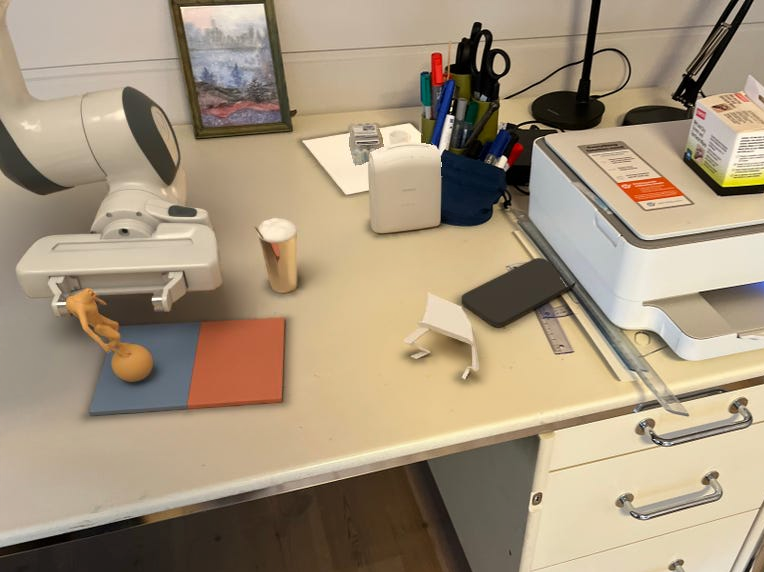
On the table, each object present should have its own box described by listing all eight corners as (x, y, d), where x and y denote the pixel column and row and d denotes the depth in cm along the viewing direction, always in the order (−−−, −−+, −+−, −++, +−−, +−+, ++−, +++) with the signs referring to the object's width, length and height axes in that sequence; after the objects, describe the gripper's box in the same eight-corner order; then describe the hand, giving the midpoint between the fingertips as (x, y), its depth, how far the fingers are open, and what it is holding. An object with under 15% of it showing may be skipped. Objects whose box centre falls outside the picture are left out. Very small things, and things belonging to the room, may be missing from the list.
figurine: (161, 397, 78) (133, 305, 70) (98, 412, 76) (62, 318, 68) (152, 349, 84) (125, 258, 76) (93, 361, 82) (59, 269, 74)
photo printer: (373, 237, 105) (371, 155, 97) (367, 221, 108) (363, 140, 100) (444, 228, 108) (447, 148, 100) (435, 213, 111) (438, 134, 103)
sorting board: (90, 416, 76) (88, 411, 76) (116, 330, 87) (114, 326, 86) (281, 402, 80) (281, 398, 79) (284, 321, 90) (284, 317, 90)
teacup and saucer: (382, 173, 119) (381, 149, 117) (362, 152, 125) (361, 128, 122) (431, 163, 123) (432, 140, 120) (410, 143, 128) (410, 120, 125)
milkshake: (253, 290, 94) (241, 220, 88) (284, 271, 98) (275, 203, 91) (278, 303, 92) (269, 233, 86) (310, 284, 96) (303, 215, 89)
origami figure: (385, 345, 88) (384, 312, 84) (436, 316, 93) (437, 283, 89) (458, 398, 82) (460, 364, 79) (509, 363, 87) (513, 330, 83)
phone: (457, 296, 94) (539, 255, 102) (457, 301, 95) (538, 260, 103) (497, 325, 91) (580, 280, 99) (497, 330, 91) (579, 285, 99)
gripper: (27, 214, 82) (-13, 288, 72) (221, 209, 86) (209, 278, 76) (45, 262, 86) (10, 339, 76) (230, 255, 90) (220, 327, 80)
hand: (111, 308), depth 76 cm, fingers open, 8 cm apart
